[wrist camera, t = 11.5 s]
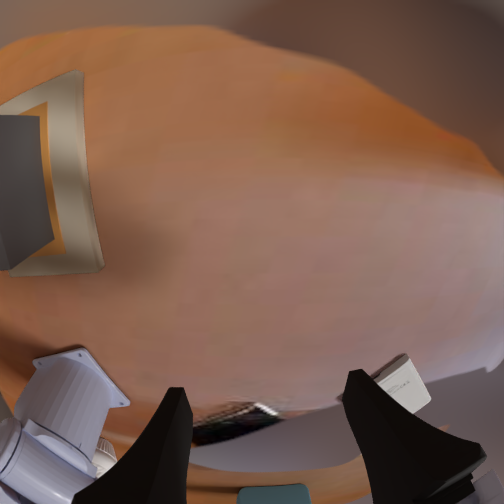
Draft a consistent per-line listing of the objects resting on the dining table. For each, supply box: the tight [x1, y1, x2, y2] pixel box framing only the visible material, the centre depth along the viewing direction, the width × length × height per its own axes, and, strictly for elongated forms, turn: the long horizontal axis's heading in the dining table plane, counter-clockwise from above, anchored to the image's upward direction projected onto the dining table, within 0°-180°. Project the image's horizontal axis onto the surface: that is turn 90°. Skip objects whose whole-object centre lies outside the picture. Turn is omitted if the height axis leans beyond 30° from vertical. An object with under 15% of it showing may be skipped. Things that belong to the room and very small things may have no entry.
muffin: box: [91, 437, 117, 478], centre depth 24 cm, size 6×6×7 cm
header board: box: [0, 69, 105, 277], centre depth 13 cm, size 14×10×4 cm
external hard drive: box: [373, 354, 431, 414], centre depth 26 cm, size 2×8×12 cm
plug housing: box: [0, 115, 55, 270], centre depth 12 cm, size 9×4×5 cm, turn 3°
